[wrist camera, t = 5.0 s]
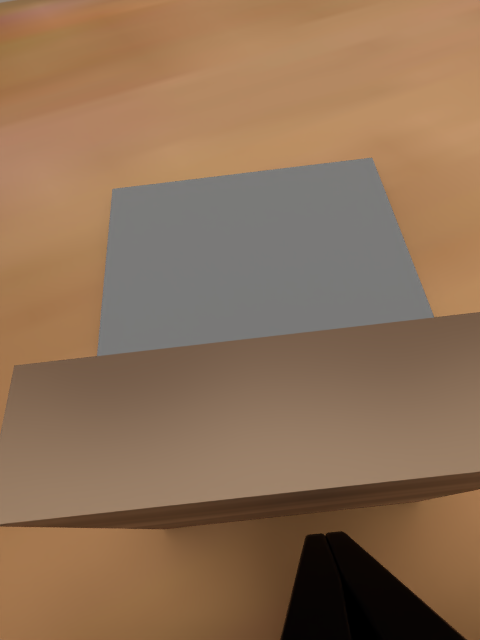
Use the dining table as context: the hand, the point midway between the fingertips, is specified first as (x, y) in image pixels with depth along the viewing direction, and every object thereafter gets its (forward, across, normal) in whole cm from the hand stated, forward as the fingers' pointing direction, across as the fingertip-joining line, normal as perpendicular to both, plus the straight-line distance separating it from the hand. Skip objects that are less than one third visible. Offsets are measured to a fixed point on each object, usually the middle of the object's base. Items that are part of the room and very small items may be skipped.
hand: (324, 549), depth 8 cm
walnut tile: (+7, 0, -4) cm, 8 cm away
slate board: (+14, 0, +4) cm, 14 cm away
